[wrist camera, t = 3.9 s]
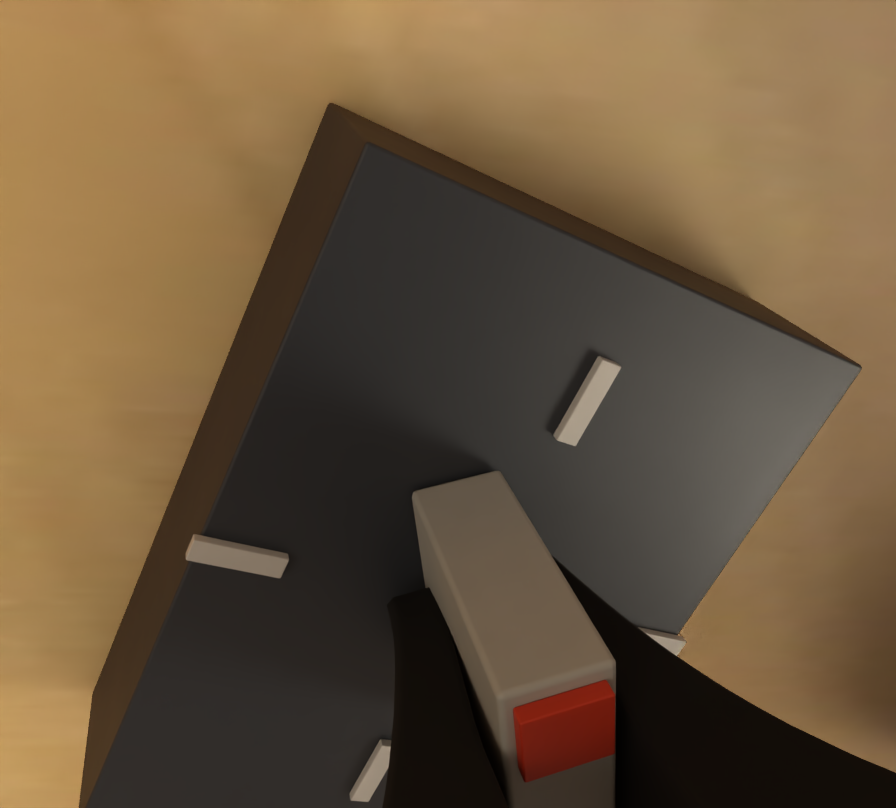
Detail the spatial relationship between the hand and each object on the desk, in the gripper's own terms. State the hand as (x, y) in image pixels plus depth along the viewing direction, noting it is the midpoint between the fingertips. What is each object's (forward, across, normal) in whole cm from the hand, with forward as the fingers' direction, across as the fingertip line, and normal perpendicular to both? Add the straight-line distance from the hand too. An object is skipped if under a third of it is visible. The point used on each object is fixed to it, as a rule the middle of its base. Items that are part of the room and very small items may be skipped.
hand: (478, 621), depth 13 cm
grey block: (0, 0, 0) cm, 0 cm away
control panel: (+3, 0, 0) cm, 3 cm away
